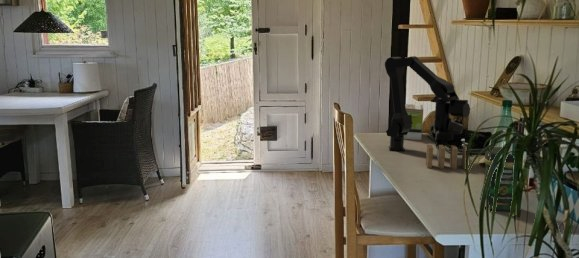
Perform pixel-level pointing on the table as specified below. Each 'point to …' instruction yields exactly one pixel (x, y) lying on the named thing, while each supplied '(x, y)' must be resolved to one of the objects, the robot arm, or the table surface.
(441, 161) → the domino
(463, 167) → the domino
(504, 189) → the coffee jar
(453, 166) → the domino
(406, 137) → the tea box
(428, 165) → the domino
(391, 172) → the table surface
